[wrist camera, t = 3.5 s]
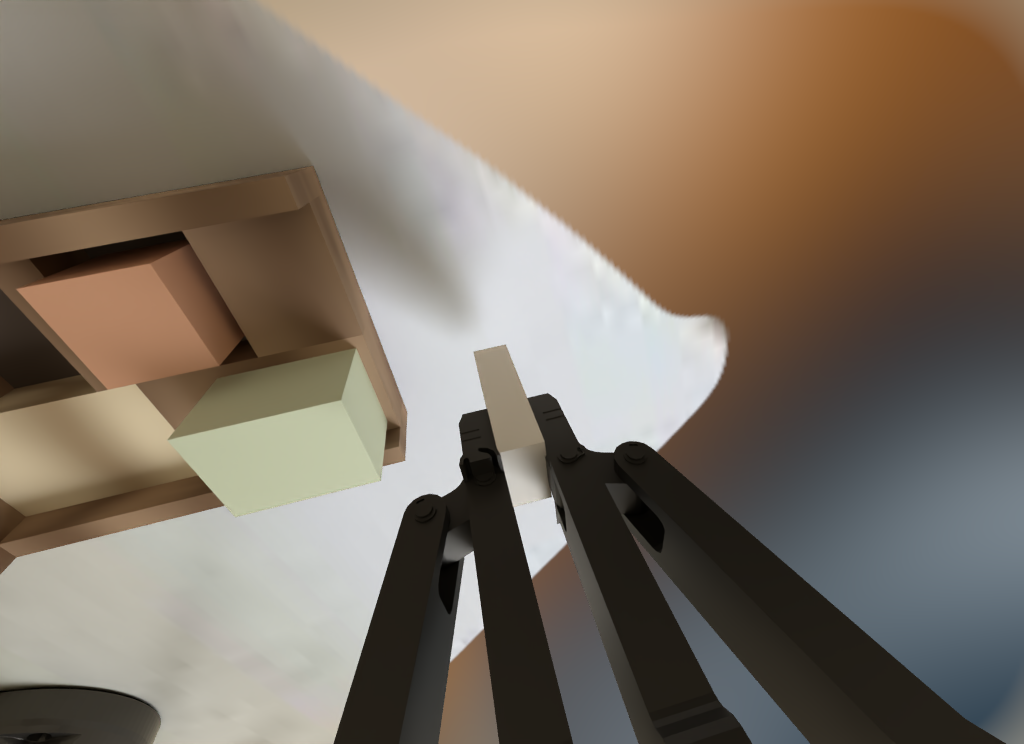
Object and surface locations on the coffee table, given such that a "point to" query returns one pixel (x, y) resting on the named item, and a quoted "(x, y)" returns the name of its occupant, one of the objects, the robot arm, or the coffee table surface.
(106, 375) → the rust block
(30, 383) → the wooden tray
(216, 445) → the sage block
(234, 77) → the coffee table surface
